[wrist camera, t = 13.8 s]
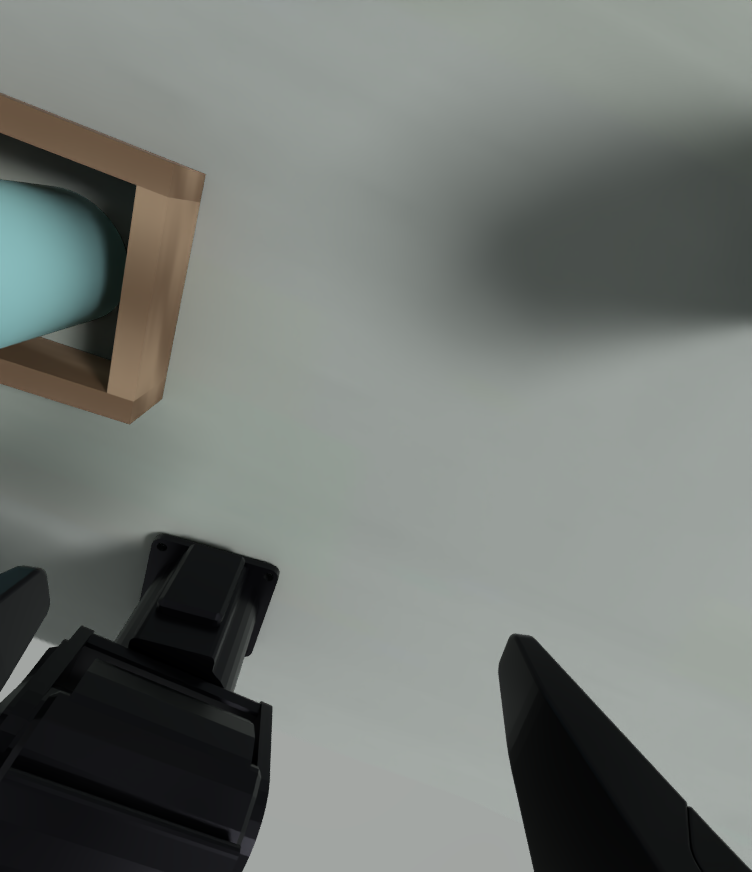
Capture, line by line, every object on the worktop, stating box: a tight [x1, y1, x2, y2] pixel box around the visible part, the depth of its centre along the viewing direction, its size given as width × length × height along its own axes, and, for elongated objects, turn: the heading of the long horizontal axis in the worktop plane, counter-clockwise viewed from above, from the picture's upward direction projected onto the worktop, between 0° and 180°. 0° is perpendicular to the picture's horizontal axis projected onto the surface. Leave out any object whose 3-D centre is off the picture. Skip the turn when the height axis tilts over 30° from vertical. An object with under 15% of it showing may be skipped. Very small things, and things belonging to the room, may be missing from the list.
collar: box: [0, 93, 206, 424], centre depth 17 cm, size 9×9×3 cm
